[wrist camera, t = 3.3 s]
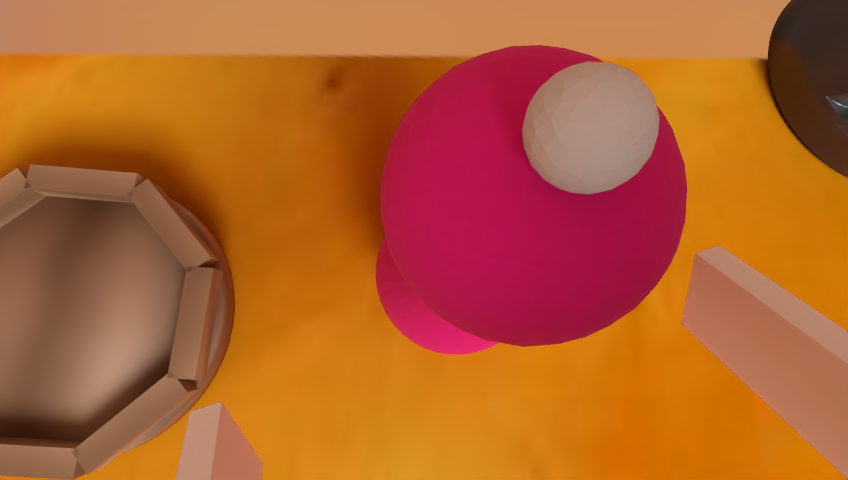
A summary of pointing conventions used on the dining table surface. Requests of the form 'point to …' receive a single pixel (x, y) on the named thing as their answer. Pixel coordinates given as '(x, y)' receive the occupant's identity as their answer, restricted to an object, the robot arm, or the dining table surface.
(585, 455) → the dining table surface
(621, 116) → the pepper mill
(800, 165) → the dining table surface
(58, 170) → the bowl
